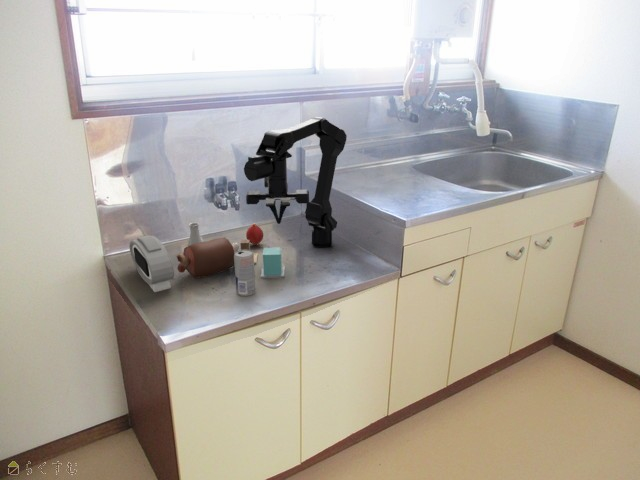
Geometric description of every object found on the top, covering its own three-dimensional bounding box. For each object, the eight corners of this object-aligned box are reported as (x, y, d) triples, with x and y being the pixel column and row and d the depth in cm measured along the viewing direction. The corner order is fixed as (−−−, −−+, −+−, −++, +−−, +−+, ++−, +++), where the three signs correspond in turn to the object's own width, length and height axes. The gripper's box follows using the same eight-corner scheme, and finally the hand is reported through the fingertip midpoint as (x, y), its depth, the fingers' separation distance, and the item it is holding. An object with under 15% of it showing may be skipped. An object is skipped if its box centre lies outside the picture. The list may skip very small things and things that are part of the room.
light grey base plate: (284, 267, 162) (284, 248, 159) (284, 277, 155) (283, 258, 153) (262, 268, 162) (261, 249, 159) (260, 278, 155) (259, 258, 153)
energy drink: (246, 285, 151) (244, 247, 146) (259, 291, 147) (257, 252, 143) (232, 292, 147) (229, 253, 142) (245, 298, 144) (243, 258, 139)
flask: (202, 257, 169) (199, 228, 166) (181, 255, 171) (178, 227, 167) (211, 248, 176) (208, 221, 172) (191, 247, 177) (188, 219, 173)
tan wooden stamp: (257, 255, 171) (256, 237, 168) (256, 264, 164) (255, 245, 162) (236, 255, 170) (235, 237, 168) (234, 264, 164) (232, 245, 162)
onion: (244, 243, 180) (243, 221, 177) (260, 240, 182) (259, 219, 179) (249, 249, 175) (248, 227, 172) (266, 246, 177) (265, 224, 174)
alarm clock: (132, 267, 162) (126, 229, 157) (152, 263, 165) (146, 225, 161) (155, 297, 144) (149, 255, 139) (176, 291, 147) (171, 250, 143)
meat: (230, 259, 169) (228, 229, 165) (248, 271, 160) (247, 240, 156) (171, 275, 157) (167, 243, 153) (187, 289, 149) (184, 256, 145)
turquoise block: (281, 267, 161) (281, 247, 158) (281, 274, 156) (280, 254, 153) (264, 267, 160) (263, 247, 158) (263, 275, 156) (262, 254, 153)
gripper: (308, 167, 163) (308, 214, 169) (248, 167, 162) (250, 215, 168) (308, 176, 152) (309, 226, 158) (244, 177, 152) (247, 227, 158)
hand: (278, 223), depth 161 cm, fingers closed
